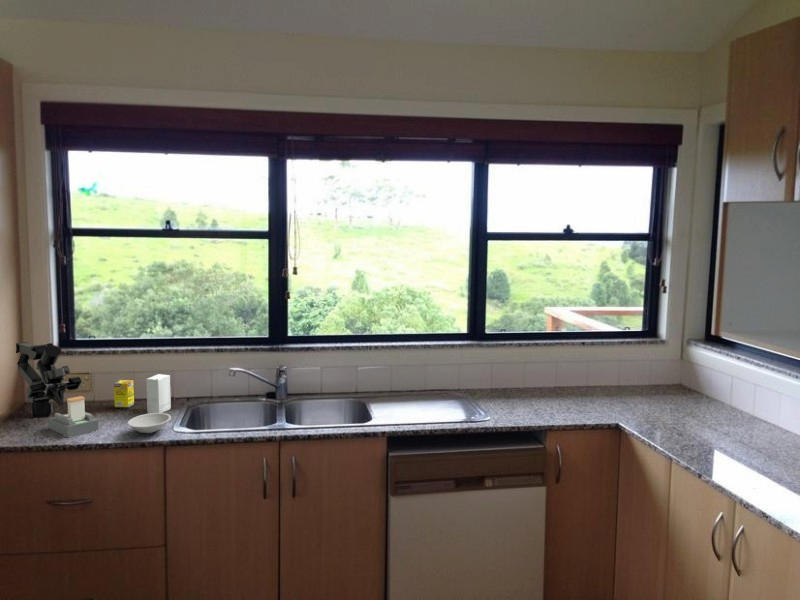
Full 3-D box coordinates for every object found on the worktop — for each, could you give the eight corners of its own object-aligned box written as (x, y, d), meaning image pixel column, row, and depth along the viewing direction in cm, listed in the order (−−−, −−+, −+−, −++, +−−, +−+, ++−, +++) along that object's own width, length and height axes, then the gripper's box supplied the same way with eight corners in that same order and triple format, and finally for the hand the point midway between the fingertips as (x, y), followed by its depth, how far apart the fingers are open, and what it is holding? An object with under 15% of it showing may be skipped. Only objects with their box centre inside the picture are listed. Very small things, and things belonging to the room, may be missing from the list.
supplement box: (128, 409, 268) (127, 383, 267) (114, 408, 268) (113, 383, 267) (134, 405, 274) (133, 380, 273) (120, 404, 274) (119, 379, 273)
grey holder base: (49, 428, 241) (48, 413, 240) (78, 421, 250) (78, 406, 249) (68, 437, 231) (67, 421, 230) (98, 430, 240) (97, 414, 239)
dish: (158, 441, 229) (158, 427, 228) (119, 439, 229) (118, 426, 229) (178, 425, 246) (178, 413, 246) (142, 424, 247) (141, 412, 246)
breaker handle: (67, 420, 237) (66, 398, 236) (81, 417, 241) (80, 396, 240) (71, 422, 235) (70, 400, 234) (85, 419, 239) (84, 397, 238)
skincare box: (159, 408, 270) (158, 373, 268) (171, 409, 268) (170, 374, 266) (146, 413, 262) (145, 378, 260) (159, 414, 260) (158, 379, 258)
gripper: (27, 363, 239) (41, 398, 234) (78, 356, 253) (93, 388, 248) (20, 380, 245) (33, 414, 239) (70, 372, 259) (84, 404, 254)
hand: (62, 404), depth 245 cm, fingers closed
